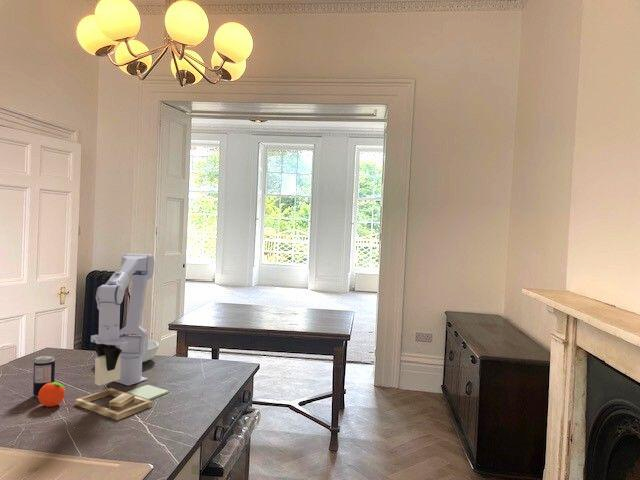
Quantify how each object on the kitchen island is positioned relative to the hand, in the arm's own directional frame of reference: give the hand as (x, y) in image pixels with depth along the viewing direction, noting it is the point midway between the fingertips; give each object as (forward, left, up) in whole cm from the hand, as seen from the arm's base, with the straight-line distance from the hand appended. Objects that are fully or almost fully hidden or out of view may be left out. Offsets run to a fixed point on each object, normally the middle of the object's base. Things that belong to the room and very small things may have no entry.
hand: (108, 368), depth 141 cm
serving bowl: (-29, +31, -11) cm, 43 cm away
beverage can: (-21, -7, -11) cm, 24 cm away
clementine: (-11, -10, -11) cm, 18 cm away
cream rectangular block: (0, 0, -4) cm, 4 cm away
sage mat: (+3, +12, -10) cm, 16 cm away
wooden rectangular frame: (+3, 0, -10) cm, 11 cm away
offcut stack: (+8, -1, -11) cm, 13 cm away
